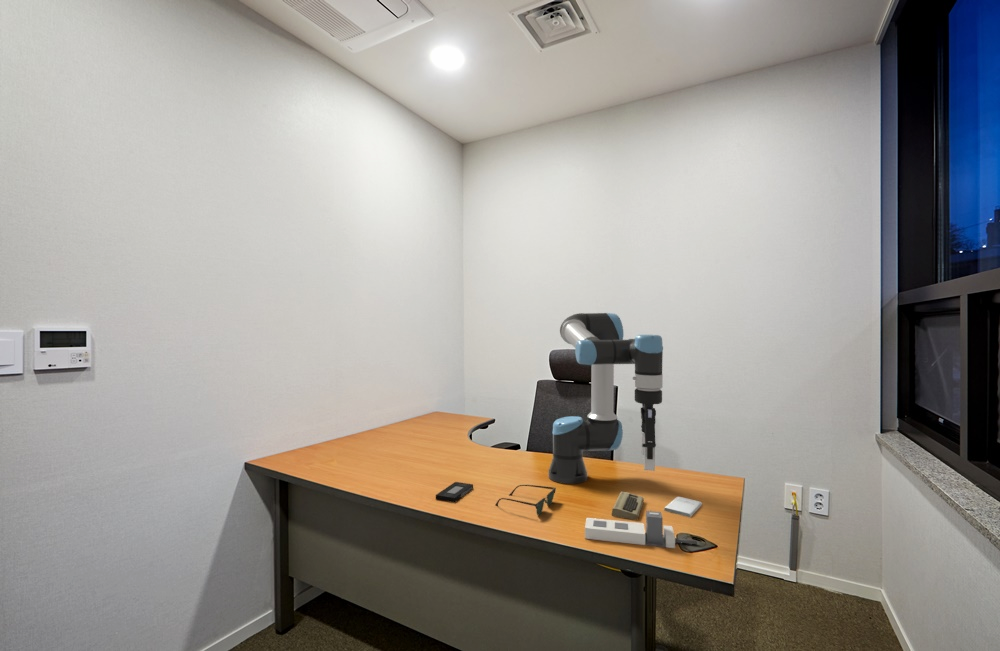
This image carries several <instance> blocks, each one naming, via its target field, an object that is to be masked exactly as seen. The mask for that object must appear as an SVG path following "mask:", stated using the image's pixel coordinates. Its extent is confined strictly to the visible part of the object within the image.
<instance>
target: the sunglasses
mask: <svg viewBox="0 0 1000 651" xmlns="http://www.w3.org/2000/svg"><path fill="white" fill-rule="evenodd" d="M519 487H533V488H541V489H547V490H551V491H550V492H548V493H547V494H546V497H543V498H541V499H540V500H539V501H537V502H536V503H531V502H527V501H521V500H518V499H511V498H506V497H505V498H504V497H502V498H499V499H498V500H497V501H496V503H494V504H495V506H497V507H499V503H500V501H501V500H506V501H511V502H514V503H520V504H524V505H528V506H532V507H535V509H536V515H537V516H540V515H541V513H543V510H544V505H545V504H546V506H551V504H552V503H553V500H554V495H555V493H556V488H557V487H554V486H553V487H552V486H545V485H544V486H543V485H532V484H520V485H519V484H518V485H517V486H516V487H515V488H514V489H513V490H512V491H511V492H510V493H509V494H508V496H513V494H514V492H515V491H516V490H517V489H518V488H519ZM544 503H545V504H544Z"/></svg>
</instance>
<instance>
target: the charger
mask: <svg viewBox="0 0 1000 651" xmlns="http://www.w3.org/2000/svg"><path fill="white" fill-rule="evenodd" d="M663 520H664V519H663V515H662V512H661V511H656V510H655V511H652V510H646V512H645V533H646V537H647V542H655V543H663V535H664V524H663Z"/></svg>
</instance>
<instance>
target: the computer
mask: <svg viewBox="0 0 1000 651" xmlns="http://www.w3.org/2000/svg"><path fill="white" fill-rule="evenodd" d="M644 502H645V498H644V497H643V495H639V494H634V493H631V492H626V491H620V493H619V494H618V497H617V499H616V501H615V503H614V504H613V505H614V506H613V507H612V510H611V516H612V517H615V518H616V517H617V518H623V519H629V520H635V521H637V520H638V519H639V516H640V513H641V510H642V507H643V505H644Z"/></svg>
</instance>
